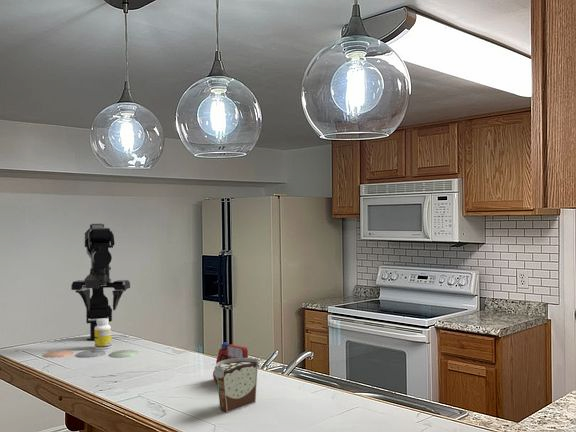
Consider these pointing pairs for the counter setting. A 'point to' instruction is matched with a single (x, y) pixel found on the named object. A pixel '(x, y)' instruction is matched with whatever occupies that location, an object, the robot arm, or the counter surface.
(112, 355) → the sage coaster
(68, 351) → the terracotta coaster
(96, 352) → the slate coaster
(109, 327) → the supplement bottle
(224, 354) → the toy fire truck
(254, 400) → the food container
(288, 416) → the counter surface
